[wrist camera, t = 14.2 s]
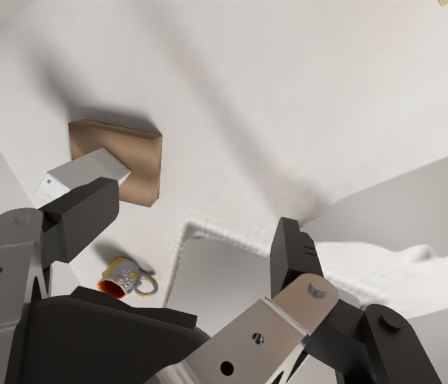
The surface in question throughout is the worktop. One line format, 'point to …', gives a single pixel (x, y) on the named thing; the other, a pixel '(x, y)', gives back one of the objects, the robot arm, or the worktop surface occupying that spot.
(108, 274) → the mug
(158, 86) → the worktop surface
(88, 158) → the skincare box
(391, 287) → the worktop surface
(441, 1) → the coffeecake box
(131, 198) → the base
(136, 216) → the worktop surface
